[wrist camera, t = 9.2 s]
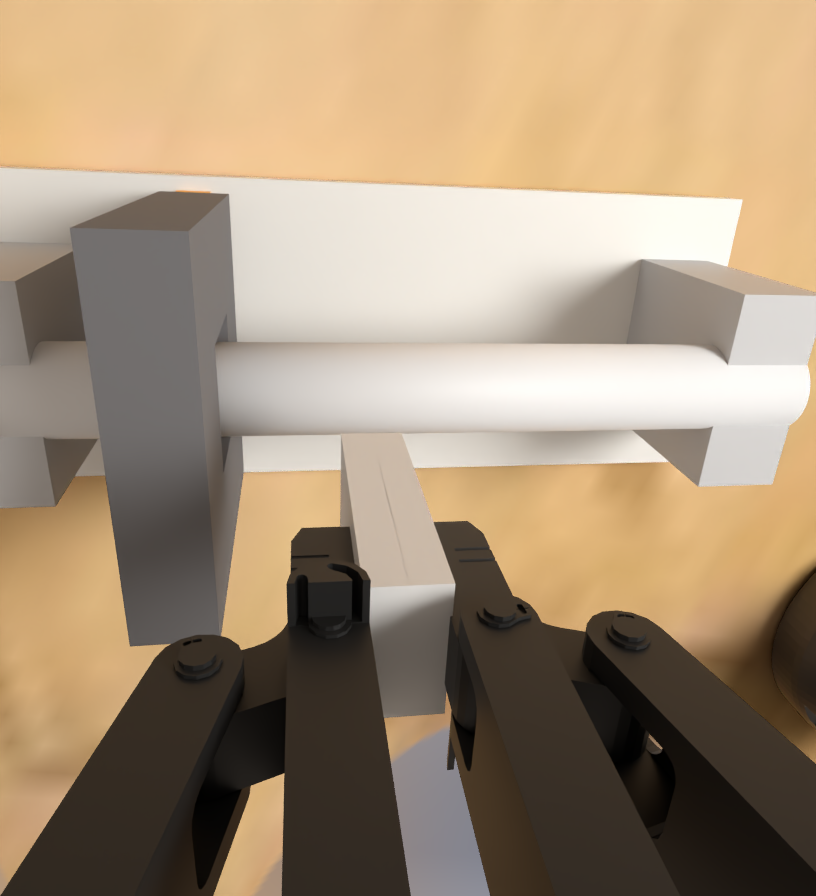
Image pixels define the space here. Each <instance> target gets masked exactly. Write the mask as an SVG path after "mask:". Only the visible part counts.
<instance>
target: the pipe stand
mask: <svg viewBox="0 0 816 896" xmlns="http://www.w3.org/2000/svg"><path fill="white" fill-rule="evenodd" d="M158 191H168V192H194V193H219V194H229V203H230V222H231V240H232V259H233V277H234V296H235V315H236V333H237V342H216V344H215V353H216V368H217V383H218V398H219V413H220V428H221V437H223V436H242V445H243V464H244V472H273V471H313V470H341V434H351V433H402V436H403V439H404V441H405V444H406V447H407V450H408V453H409V455H410V458H411V461H412V464H413V466H414V468H436V467H477V466H518V465H559V464H600V463H641V462H670V463H671V464H672V465H674V466H675V467H676V468H677V469H678V470H679V471H681V472H682V473H683V474H684V475H685V476H687V477H688V478H689V479H690V480H691V481H692V482H694V483H695V484H696V485H697V486H698V487H701V486H733V485H765V484H772V483H773V480H774V476H775V473H776V470H777V466H778V463H779V459H780V456H781V453H782V449H783V446H784V442H785V439H786V436H787V432H788V429H789V425H791V424H792V423H794V422H795V421H796V420H797V419H798V418H799V417H800V415H801V414H802V412H803V411H804V409H805V407H806V404H807V401H808V398H809V393H810V375H809V370H808V366H807V364H808V360H809V357H810V354H811V350H812V347H813V343H814V340H815V337H816V293H815V292H812V291H808V290H805V289H802V288H798V287H795V286H791V285H788V284H785V283H781V282H778V281H774V280H771V279H768V278H764V277H761V276H757V275H754V274H751V273H747V272H744V271H740V270H737V269H734V268H730V267H727V266H728V261H729V257H730V253H731V248H732V244H733V240H734V235H735V231H736V227H737V222H738V218H739V213H740V209H741V205H742V199H734V198H727V197H705V196H682V195H659V194H636V193H612V192H589V191H566V190H543V189H519V188H496V187H473V186H450V185H427V184H403V183H380V182H357V181H334V180H310V179H287V178H264V177H241V176H218V175H194V174H171V173H148V172H125V171H101V170H78V169H55V168H32V167H9V166H0V508H22V507H54V506H56V505H57V503H58V502H59V500H60V499H61V497H62V495H63V494H64V492H65V491H66V489H67V487H68V486H69V484H70V483H71V481H72V480H73V478H74V476H105V470H104V463H103V456H102V449H101V442H100V435H99V428H98V421H97V414H96V407H95V400H94V393H93V386H92V380H91V373H90V366H89V359H88V352H87V345H86V338H85V331H84V324H83V317H82V310H81V303H80V296H79V289H78V283H77V276H76V269H75V262H74V255H73V248H72V241H71V234H70V227H73V226H75V225H78V224H80V223H82V222H85V221H87V220H90V219H92V218H95V217H97V216H100V215H102V214H104V213H107V212H109V211H112V210H114V209H117V208H119V207H122V206H124V205H127V204H129V203H131V202H134V201H136V200H139V199H141V198H144V197H146V196H149V195H151V194H153V193H156V192H158Z"/></svg>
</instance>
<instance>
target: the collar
mask: <svg viewBox="0 0 816 896" xmlns="http://www.w3.org/2000/svg"><path fill="white" fill-rule="evenodd" d="M70 234H71V241H72V248H73V255H74V262H75V269H76V276H77V283H78V289H79V296H80V303H81V310H82V317H83V324H84V331H85V338H86V345H87V352H88V359H89V366H90V373H91V380H92V386H93V393H94V400H95V407H96V414H97V421H98V428H99V435H100V442H101V449H102V456H103V463H104V470H105V477H106V483H107V490H108V497H109V504H110V511H111V518H112V525H113V532H114V539H115V546H116V553H117V560H118V567H119V574H120V580H121V587H122V594H123V601H124V608H125V615H126V622H127V629H128V636H129V643H130V646H143V645H159V644H173V643H174V642H176V641H178V640H180V639H183V638H187V637H191V636H195V635H212V634H214V635H218V636H221V632H222V625H223V617H224V610H225V603H226V596H227V588H228V581H229V574H230V566H231V559H232V552H233V545H234V537H235V530H236V523H237V516H238V508H239V501H240V494H241V487H242V479H243V472H244V464H243V445H242V436H223V437H221V428H220V413H219V398H218V383H217V368H216V353H215V344H216V342H237V333H236V315H235V296H234V277H233V259H232V240H231V222H230V203H229V194H219V193H194V192H168V191H158V192H156V193H153V194H151V195H149V196H146V197H144V198H141V199H139V200H136V201H134V202H131V203H129V204H127V205H124V206H122V207H119V208H117V209H114V210H112V211H109V212H107V213H104V214H102V215H100V216H97V217H95V218H92V219H90V220H87V221H85V222H82V223H80V224H78V225H75V226H73V227H70Z"/></svg>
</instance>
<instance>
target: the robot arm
mask: <svg viewBox="0 0 816 896" xmlns="http://www.w3.org/2000/svg"><path fill="white" fill-rule="evenodd" d="M287 614H288V623H287V625H286V626H285V628H284V629H283V630H282V631H281V632H280V633H279V634H278V635H277V636H276V637H274V638H272V639H271V640H269V641H267V642H266V643H263V644H260V645H258V646H255V647H252V648H248V649H245V650H241V649H240V647H239V645H237V644H236V643H235V642H233V641H232V640H230V639H229V638H226V637H222V636H218V635H214V634H212V635H195V636H191V637H187V638H183V639H180V640H178V641H176V642H174V643H173V644H171V645H169V646H167V647H165V648H164V649H163V650H162V651H161V652H160V653H159V655H158V656H157V657H156V658H155V659H154V660H153V662H152V664H151V665H150V667H149V668H148V670H147V671H146V673H145V674H144V676H143V677H142V679H141V680H140V682H139V684H138V685H137V687H136V688H135V690H134V691H133V693H132V694H131V696H130V697H129V699H128V700H127V702H126V703H125V705H124V707H123V708H122V710H121V711H120V713H119V714H118V716H117V717H116V719H115V720H114V722H113V723H112V725H111V727H110V728H109V730H108V731H107V733H106V734H105V736H104V737H103V739H102V740H101V742H100V743H99V745H98V747H97V748H96V750H95V751H94V753H93V754H92V756H91V757H90V759H89V760H88V762H87V763H86V765H85V767H84V768H83V770H82V771H81V773H80V774H79V776H78V777H77V779H76V780H75V782H74V783H73V785H72V787H71V788H70V790H69V791H68V793H67V794H66V796H65V797H64V799H63V800H62V802H61V803H60V805H59V806H58V808H57V810H56V811H55V813H54V814H53V816H52V817H51V819H50V820H49V822H48V823H47V825H46V826H45V828H44V830H43V831H42V833H41V834H40V836H39V837H38V839H37V840H36V842H35V843H34V845H33V846H32V848H31V850H30V851H29V853H28V854H27V856H26V857H25V859H24V860H23V862H22V863H21V865H20V866H19V868H18V870H17V871H16V873H15V874H14V876H13V877H12V879H11V880H10V882H9V883H8V885H7V886H6V888H5V890H4V891H3V893H2V894H1V896H213V895H214V892H215V889H216V886H217V884H218V881H219V878H220V875H221V872H222V870H223V867H224V864H225V861H226V859H227V856H228V853H229V850H230V848H231V845H232V842H233V839H234V837H235V834H236V831H237V828H238V825H239V823H240V820H241V817H242V814H243V812H244V809H245V806H246V803H247V801H248V798H249V794H250V786H251V785H254V784H256V783H259V782H262V781H264V780H267V779H270V778H272V777H275V776H278V775H280V774H283V773H285V776H284V820H283V864H282V870H283V871H282V896H411V895H410V888H409V882H408V875H407V868H406V862H405V855H404V848H403V842H402V835H401V829H400V822H399V815H398V809H397V802H396V795H395V788H394V782H393V775H392V768H391V762H390V755H389V749H388V742H387V735H386V729H385V722H384V718H388V717H402V716H416V715H429V714H443V713H445V701H446V691H447V694H448V698H449V702H450V706H451V709H452V712H451V723H450V735H449V745H448V757H447V770H451V769H454V759H455V757H456V761H457V765H458V769H459V773H460V777H461V781H462V785H463V789H464V793H465V797H466V801H467V805H468V809H469V813H470V817H471V821H472V825H473V829H474V833H475V837H476V841H477V845H478V849H479V852H480V857H481V860H482V865H483V869H484V872H485V876H486V880H487V884H488V888H489V892H490V896H816V764H815V763H814V762H813V761H812V760H811V759H810V758H808V757H807V756H806V755H805V754H804V753H803V752H802V751H800V750H799V749H798V748H797V747H796V746H795V745H794V744H792V743H791V742H790V741H789V740H788V739H787V738H786V737H785V736H783V735H782V734H781V733H780V732H779V731H778V730H777V729H775V728H774V727H773V726H772V725H771V724H770V723H769V722H767V721H766V720H765V719H764V718H763V717H762V716H761V715H759V714H758V713H757V712H756V711H755V710H754V709H753V708H752V707H750V706H749V705H748V704H747V703H746V702H745V701H744V700H742V699H741V698H740V697H739V696H738V695H737V694H736V693H734V692H733V691H732V690H731V689H730V688H729V687H728V686H726V685H725V684H724V683H723V682H722V681H721V680H720V679H718V678H717V677H716V676H715V675H714V674H713V673H712V672H711V671H709V670H708V669H707V668H706V667H705V666H704V665H703V664H701V663H700V662H699V661H698V660H697V659H696V658H695V657H693V656H692V655H691V654H690V653H689V652H688V651H687V650H685V649H684V648H683V647H682V646H681V645H680V644H679V643H678V642H676V641H675V640H674V639H673V638H672V637H671V636H670V635H668V634H667V633H666V632H665V631H664V630H663V629H662V628H660V627H659V626H658V625H656V624H655V623H653V622H652V621H650V620H649V619H647V618H644V617H642V616H639V615H636V614H634V613H629V612H623V611H606V612H601V613H599V614H597V615H594V616H592V618H591V619H590V620H589V622H588V623H587V627H586V632H583V631H577V630H571V629H565V628H559V627H555V626H551V625H547V624H545V623H542V622H541V620H540V618H539V616H538V614H537V613H536V612H535V610H534V609H533V608H532V607H531V606H530V604H528V603H526V602H525V601H523V600H521V599H520V598H518V597H514V596H513V595H512V593H511V591H510V589H509V587H508V585H507V583H506V580H505V578H504V576H503V574H502V572H501V570H500V568H499V566H498V564H497V562H496V561H495V557H494V555H493V553H492V551H491V550H490V549H489V545H488V543H487V541H486V539H485V536H484V534H483V533H482V532H481V531H480V530H478V529H477V528H476V527H474V526H473V525H472V524H471V523H469V522H468V521H457V522H433V520H432V517H431V514H430V511H429V508H428V506H427V503H426V500H425V497H424V494H423V492H422V489H421V486H420V483H419V480H418V478H417V475H416V472H415V469H414V466H413V464H412V461H411V458H410V455H409V453H408V450H407V447H406V444H405V441H404V439H403V436H402V433H351V434H341V511H340V527H320V528H302V529H301V530H300V531H299V532H298V534H297V535H296V536H295V537H294V539H293V540H292V541H291V574H290V576H289V579H288V581H287ZM772 669H773V675H774V678H775V681H776V684H777V686H778V688H779V690H780V692H781V693H782V694H783V696H784V697H785V698H786V699H787V700H788V701H789V703H790V704H791V705H792V706H793V707H794V708H795V709H796V710H797V712H798V713H799V714H800V715H801V716H802V717H803V718H804V719H805V720H806V722H807V723H809V724H810V725H811V726H812V727H813V728H814V729H816V572H815V573H814V575H813V576H812V577H811V578H810V579H809V580H808V581H807V582H806V583H805V584H804V586H803V587H802V588H801V589H800V591H799V592H798V593H797V595H796V596H795V597H794V599H793V600H792V602H791V603H790V605H789V607H788V608H787V610H786V612H785V614H784V616H783V618H782V620H781V622H780V624H779V627H778V630H777V633H776V636H775V640H774V644H773V651H772ZM649 734H650V735H651V736H652V737H653V738H654V739H655V740H656V741H657V742H658V743H659V744H660V746H661V747H662V748H663V749H662V750H661V749H660V748H659V747H657V746H656V745H655V744H654V743H653V742H652V741H651V740H650V738H649Z"/></svg>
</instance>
